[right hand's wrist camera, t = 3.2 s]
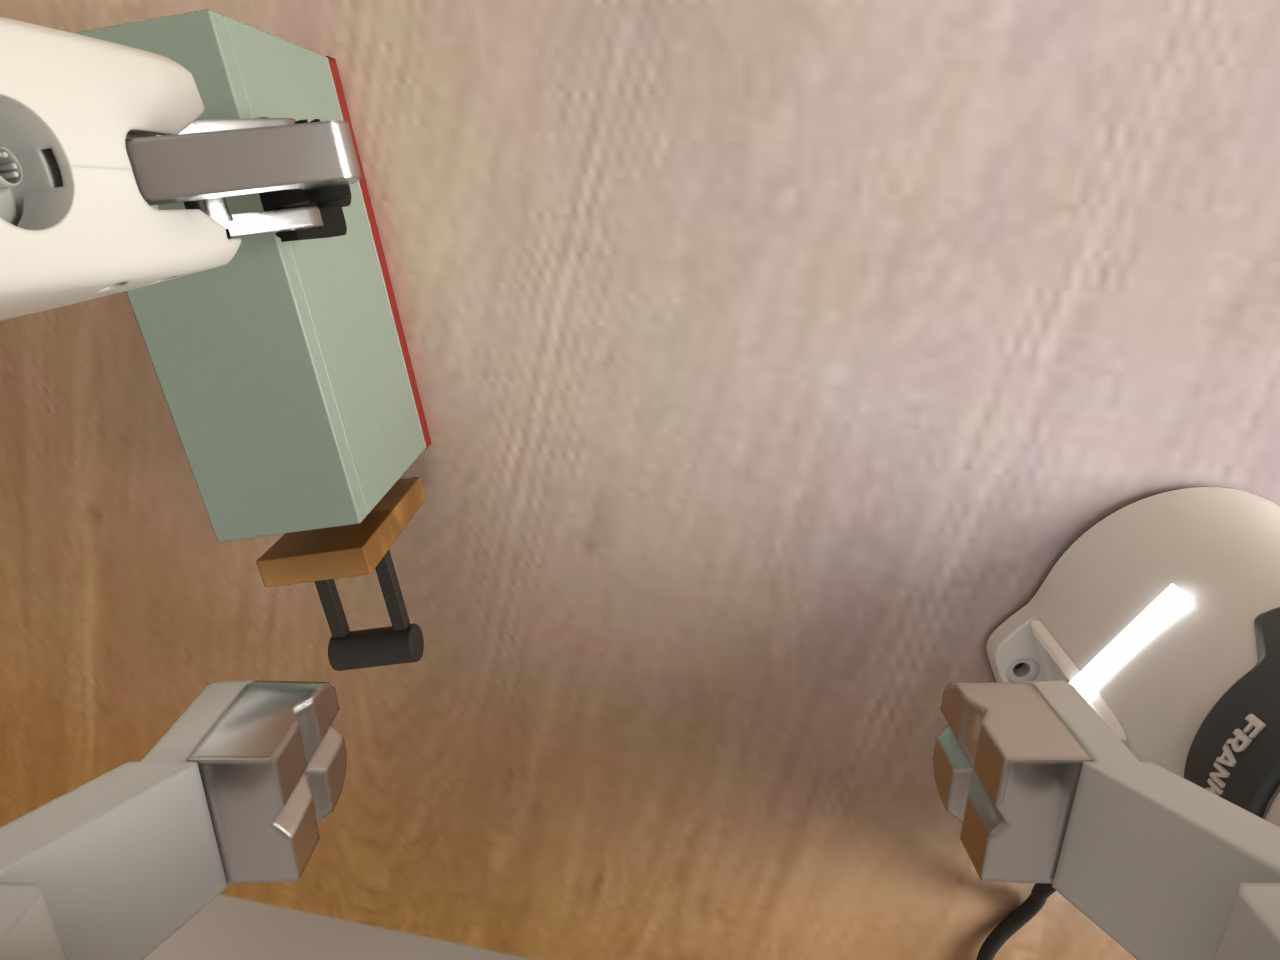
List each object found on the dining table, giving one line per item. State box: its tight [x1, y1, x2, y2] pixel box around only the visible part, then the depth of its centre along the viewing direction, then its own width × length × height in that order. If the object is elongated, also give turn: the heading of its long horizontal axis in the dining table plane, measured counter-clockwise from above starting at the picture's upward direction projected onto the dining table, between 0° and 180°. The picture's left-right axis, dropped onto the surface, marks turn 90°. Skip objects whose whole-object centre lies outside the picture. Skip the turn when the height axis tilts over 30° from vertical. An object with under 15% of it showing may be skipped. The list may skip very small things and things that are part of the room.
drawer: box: [256, 477, 425, 671], centre depth 33 cm, size 22×4×8 cm, turn 8°
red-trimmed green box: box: [75, 9, 431, 542], centre depth 31 cm, size 17×6×10 cm, turn 8°
